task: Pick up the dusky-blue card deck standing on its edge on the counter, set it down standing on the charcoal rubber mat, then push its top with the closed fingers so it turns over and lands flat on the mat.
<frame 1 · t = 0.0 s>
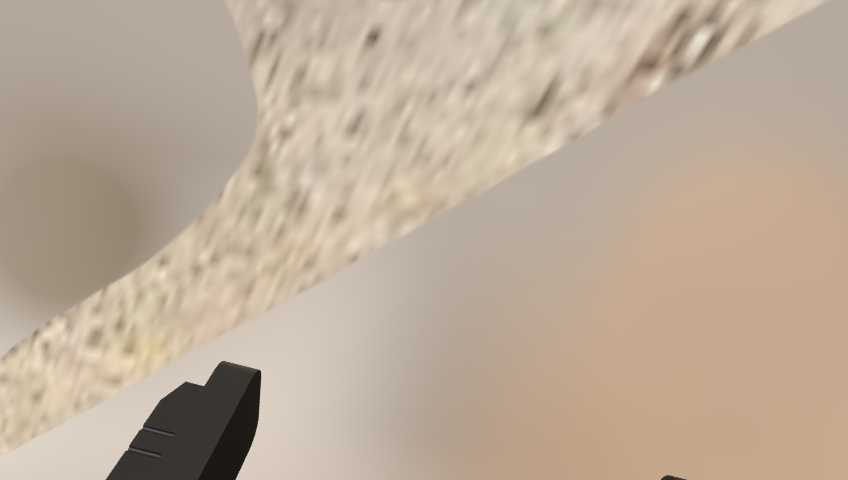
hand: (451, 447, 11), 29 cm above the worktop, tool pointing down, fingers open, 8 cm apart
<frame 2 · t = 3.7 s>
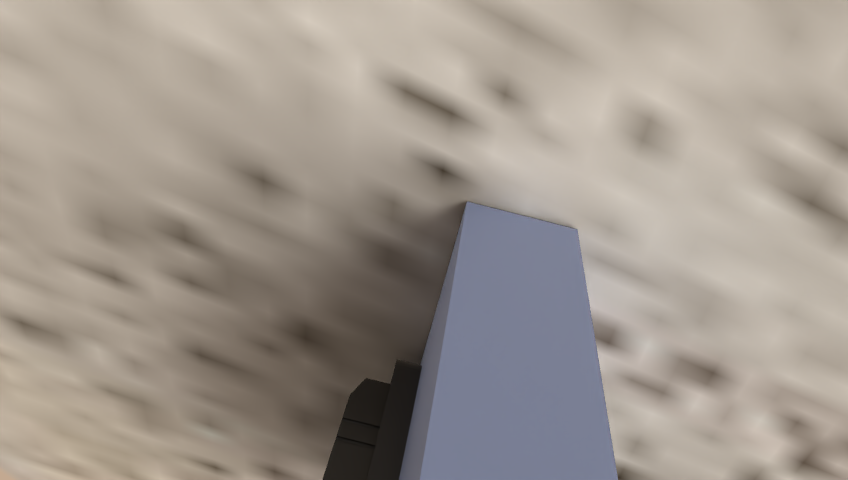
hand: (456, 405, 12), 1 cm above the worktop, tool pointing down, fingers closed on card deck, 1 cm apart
card deck: (461, 386, 12), on the worktop, touching gripper
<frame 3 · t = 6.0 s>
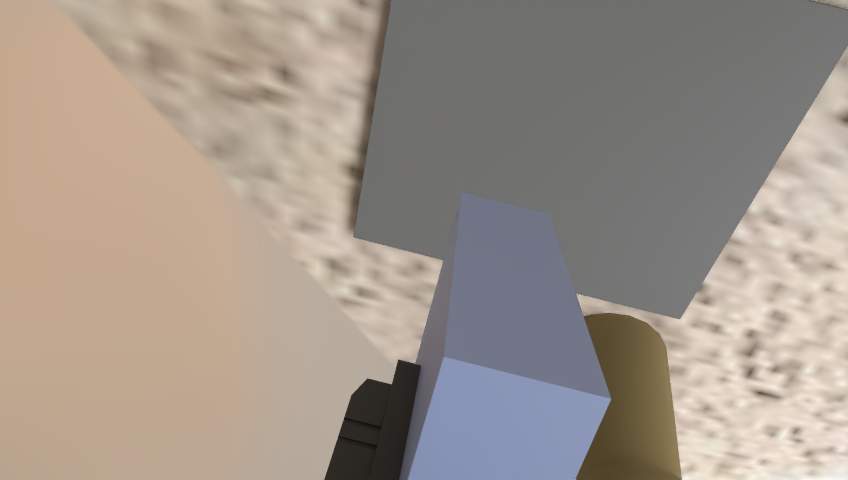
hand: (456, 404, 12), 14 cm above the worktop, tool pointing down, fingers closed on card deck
mat: (564, 139, 23), on the worktop
card deck: (455, 366, 14), point 12 cm above the worktop, tilted 11°, touching gripper
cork: (604, 355, 30), on the worktop
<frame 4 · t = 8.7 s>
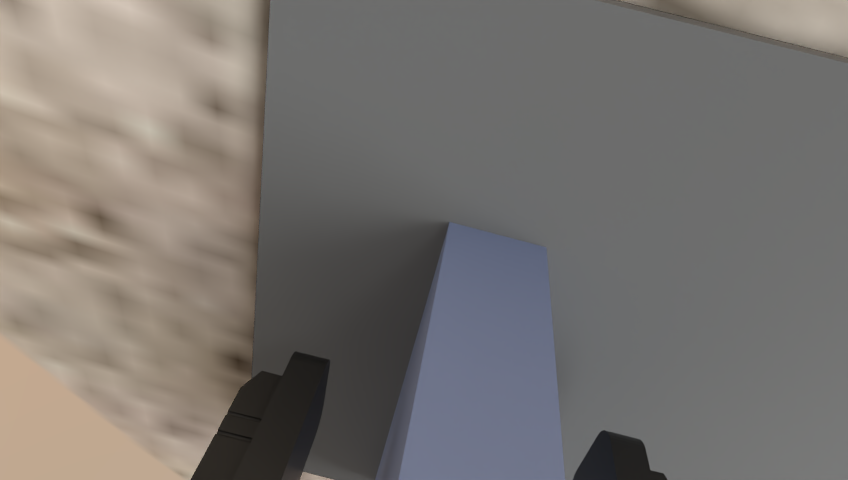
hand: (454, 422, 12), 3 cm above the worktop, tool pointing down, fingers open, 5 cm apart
mat: (600, 340, 13), on the worktop
card deck: (445, 384, 14), point 1 cm above the worktop, touching mat
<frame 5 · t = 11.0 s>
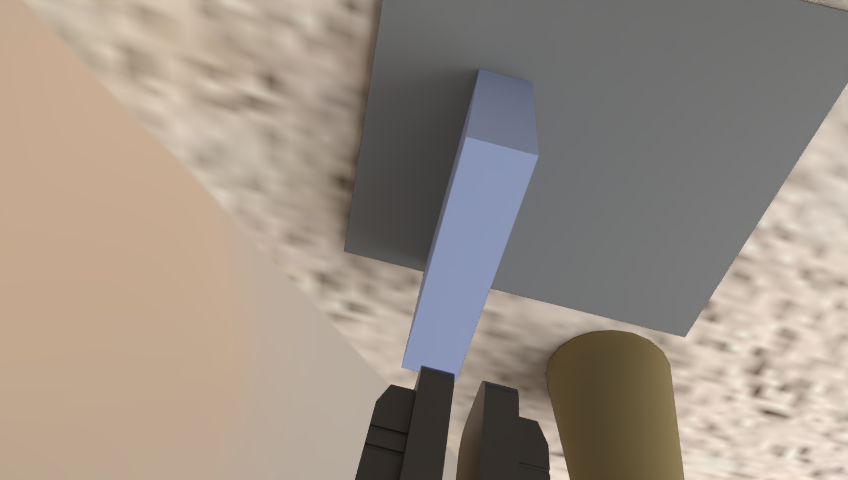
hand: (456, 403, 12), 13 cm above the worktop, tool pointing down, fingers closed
mat: (565, 151, 22), on the worktop
card deck: (473, 182, 23), point 1 cm above the worktop, touching mat
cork: (606, 373, 28), on the worktop
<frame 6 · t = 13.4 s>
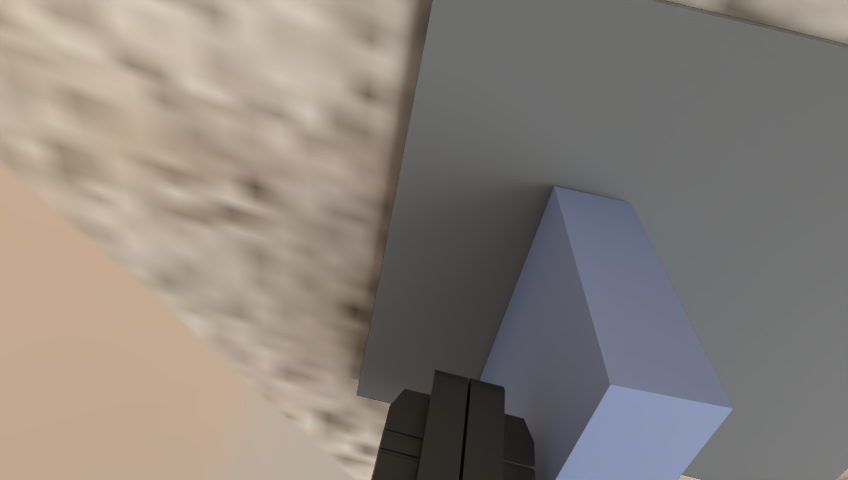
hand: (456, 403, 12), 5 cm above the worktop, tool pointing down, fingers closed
mat: (665, 283, 16), on the worktop
card deck: (536, 324, 17), point 1 cm above the worktop, touching gripper, mat
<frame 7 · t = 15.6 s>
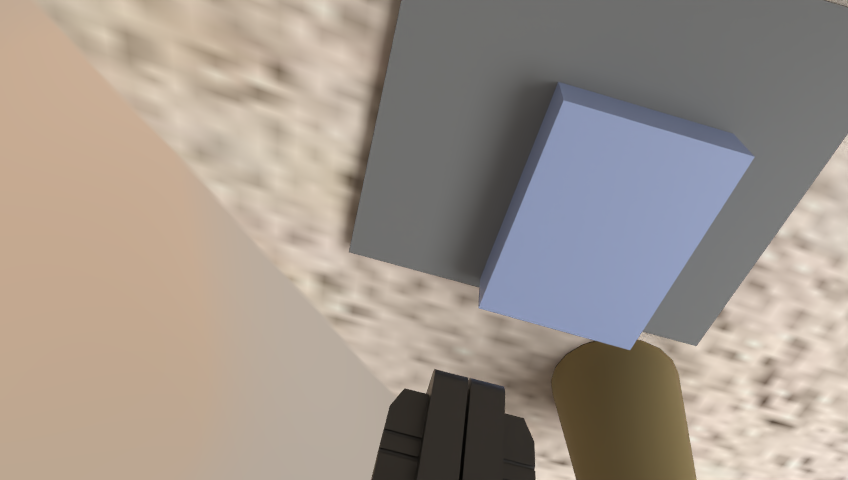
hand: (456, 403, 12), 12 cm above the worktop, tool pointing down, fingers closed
mat: (585, 153, 22), on the worktop
card deck: (515, 203, 21), point 2 cm above the worktop, tilted 90°, touching mat
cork: (612, 380, 28), on the worktop
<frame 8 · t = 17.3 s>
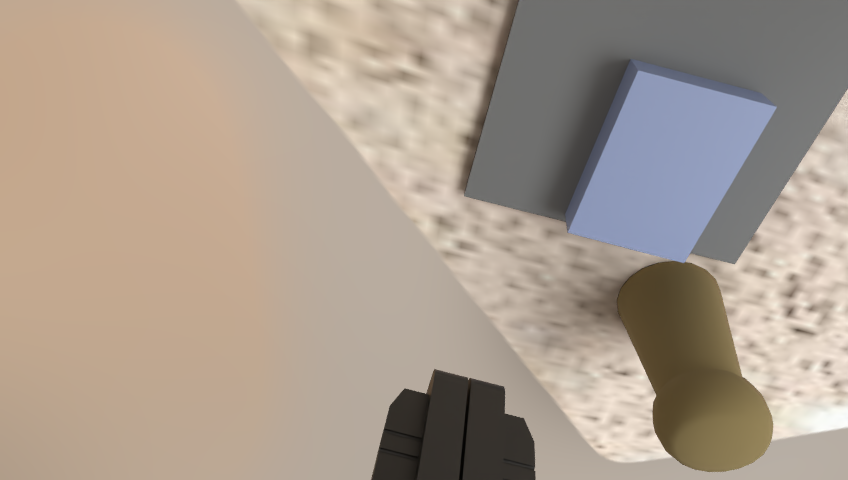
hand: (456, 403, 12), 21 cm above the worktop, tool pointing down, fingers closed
mat: (648, 112, 29), on the worktop
card deck: (597, 150, 29), point 2 cm above the worktop, tilted 90°, touching mat
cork: (666, 299, 35), on the worktop
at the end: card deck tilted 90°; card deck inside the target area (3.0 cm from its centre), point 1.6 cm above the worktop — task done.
